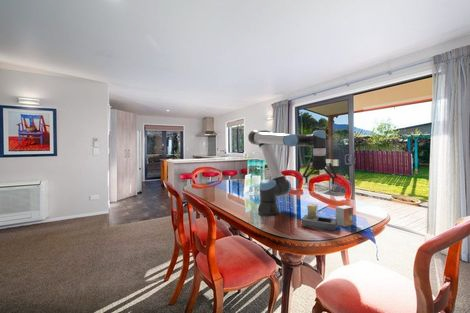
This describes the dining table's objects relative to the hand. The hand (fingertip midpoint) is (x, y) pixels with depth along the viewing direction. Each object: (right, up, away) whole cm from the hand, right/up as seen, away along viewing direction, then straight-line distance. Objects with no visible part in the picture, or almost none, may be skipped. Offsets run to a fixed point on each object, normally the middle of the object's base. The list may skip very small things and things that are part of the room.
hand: (319, 188), depth 130 cm
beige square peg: (-5, -20, -1) cm, 21 cm away
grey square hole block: (-4, -20, -10) cm, 23 cm away
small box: (+11, -20, -9) cm, 25 cm away
